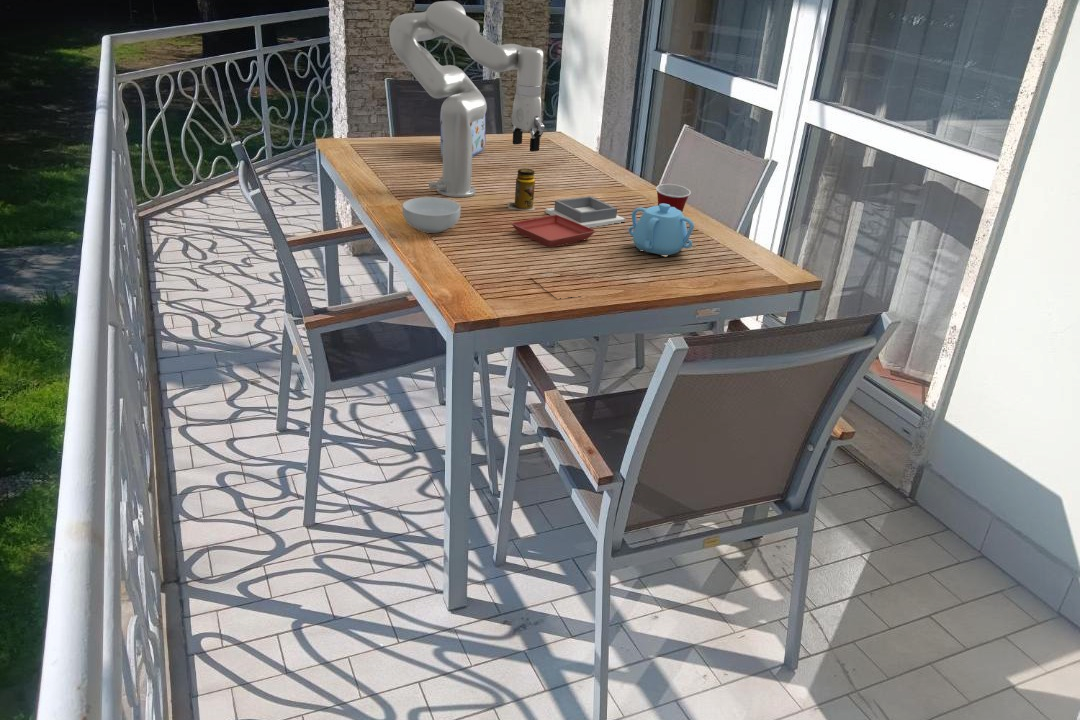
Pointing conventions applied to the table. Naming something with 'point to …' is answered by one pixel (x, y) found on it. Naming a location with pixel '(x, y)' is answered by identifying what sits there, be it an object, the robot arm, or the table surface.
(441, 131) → the lunch box
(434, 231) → the cereal bowl
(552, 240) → the plant saucer
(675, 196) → the plastic cup
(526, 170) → the condiment
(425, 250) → the table surface
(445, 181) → the robot arm
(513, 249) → the table surface
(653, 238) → the decorative pot
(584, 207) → the holder
